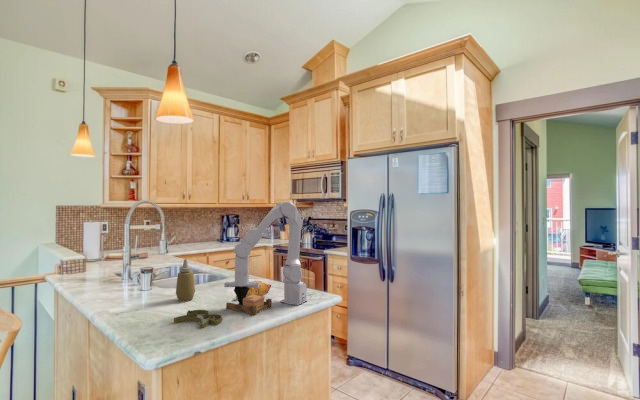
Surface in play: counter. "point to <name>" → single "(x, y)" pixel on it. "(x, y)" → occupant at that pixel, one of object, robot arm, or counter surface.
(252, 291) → the croissant
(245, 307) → the brown wooden frame
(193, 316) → the cookie cutter
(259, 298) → the peach rectangular block
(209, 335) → the counter surface
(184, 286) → the squeeze bottle
